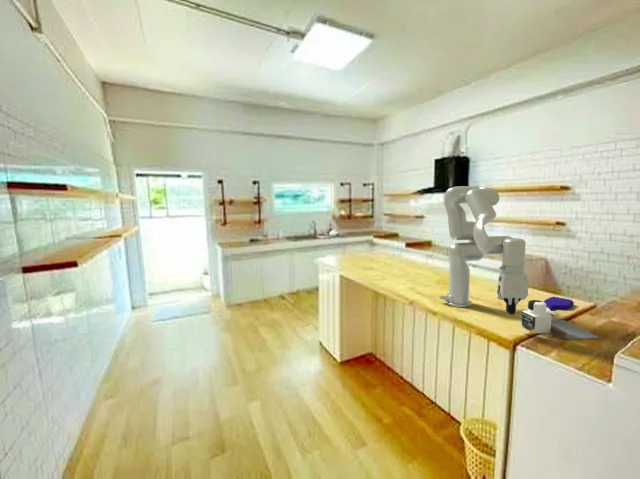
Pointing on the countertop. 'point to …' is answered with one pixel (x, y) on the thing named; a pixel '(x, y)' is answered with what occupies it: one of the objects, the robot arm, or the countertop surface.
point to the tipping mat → (569, 331)
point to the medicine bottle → (536, 317)
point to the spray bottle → (557, 304)
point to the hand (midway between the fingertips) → (510, 313)
